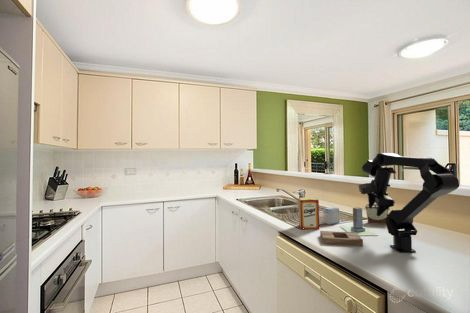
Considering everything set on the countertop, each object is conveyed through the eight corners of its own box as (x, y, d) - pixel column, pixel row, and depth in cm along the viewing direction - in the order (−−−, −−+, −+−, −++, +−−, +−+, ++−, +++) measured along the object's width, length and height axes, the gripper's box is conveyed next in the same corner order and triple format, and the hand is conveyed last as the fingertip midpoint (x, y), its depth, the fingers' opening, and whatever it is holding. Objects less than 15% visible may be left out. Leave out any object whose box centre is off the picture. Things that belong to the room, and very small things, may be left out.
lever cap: (357, 232, 115) (356, 209, 115) (351, 230, 119) (350, 207, 119) (365, 231, 116) (364, 208, 116) (358, 228, 120) (358, 206, 120)
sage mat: (377, 235, 110) (377, 235, 110) (352, 236, 111) (352, 235, 111) (363, 226, 124) (363, 226, 124) (340, 227, 125) (340, 226, 125)
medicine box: (333, 221, 137) (333, 206, 137) (339, 223, 132) (339, 208, 132) (323, 222, 134) (322, 207, 134) (328, 224, 130) (328, 209, 130)
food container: (386, 221, 133) (385, 204, 133) (390, 224, 127) (389, 206, 127) (362, 220, 136) (362, 203, 136) (365, 223, 130) (364, 205, 130)
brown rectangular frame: (362, 246, 99) (362, 240, 99) (323, 243, 102) (323, 238, 102) (356, 237, 109) (356, 232, 109) (320, 236, 112) (320, 230, 112)
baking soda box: (301, 229, 123) (300, 199, 123) (298, 225, 130) (298, 197, 130) (319, 229, 122) (318, 199, 122) (316, 225, 129) (315, 197, 129)
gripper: (356, 171, 114) (349, 200, 118) (370, 184, 96) (362, 218, 100) (380, 174, 113) (373, 204, 116) (399, 188, 95) (390, 222, 98)
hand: (373, 211), depth 108 cm, fingers open, 9 cm apart
